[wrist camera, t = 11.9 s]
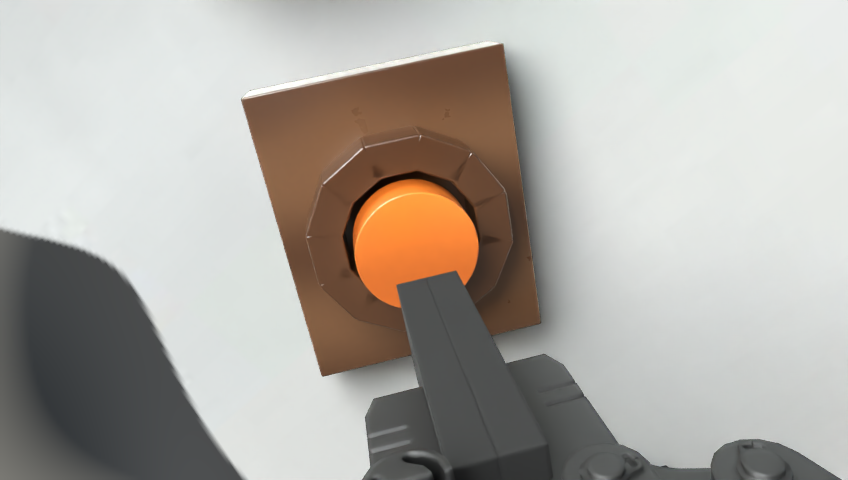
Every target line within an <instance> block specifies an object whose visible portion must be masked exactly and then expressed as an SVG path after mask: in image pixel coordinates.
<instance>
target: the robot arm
mask: <svg viewBox="0 0 848 480" xmlns="http://www.w3.org/2000/svg"><path fill="white" fill-rule="evenodd" d="M396 287H397V291H398V296H399V300H400V305H401V309H402V313H403V318H404V322H405V327H406V331H407V336H408V340H409V344H410V349H411V353H412V358H413V362H414V366H415V371H416V375H417V380H418V383H419V388H415V389H411V390H407V391H403V392H399V393H395V394H391V395H387V396H383V397H379V398H375V399H373V401H372V404H371V406H370V408H369V410H368V412H367V414H366V416H365V421H366V430H367V437H368V439H367V440H368V449H369V458H370V469H369V470H368V472H367V473H366V475H365V476H364V478H363V479H362V480H841V479H840V478H838V477H836V476H835V475H833V474H832V473H830V472H828V471H827V470H825V469H824V468H822V467H821V466H819V465H817V464H816V463H814V462H813V461H811V460H809V459H808V458H806V457H805V456H803V455H801V454H800V453H798V452H796V451H794V450H792V449H790V448H788V447H786V446H783V445H781V444H779V443H774V442H770V441H765V440H760V439H750V440H738V441H734V442H731V443H728V444H725V445H723V446H722V447H721V448H720V449H719V450H718V451H716V452H715V453H714V456H713V459H712V462H711V468H696V469H676V468H663V467H659V466H654V465H651V464H650V463H649V462H648V461H647V460H646V459H645V458H644V457H643V456H642V455H641V454H640V453H638V452H637V451H635V450H633V449H630V448H628V447H626V446H623V445H619V444H618V442H617V441H616V439H615V438H614V436H613V435H612V433H611V432H610V431H609V429H608V428H607V426H606V425H605V423H604V422H603V421H602V419H601V418H600V416H599V415H598V413H597V412H596V411H595V409H594V408H593V406H592V405H591V403H590V402H589V400H588V399H587V398H586V396H585V397H584V394H583V392H582V390H581V389H580V388H579V386H578V385H577V383H576V384H575V381H574V379H573V378H572V376H571V375H570V373H569V372H568V370H567V369H566V368H565V366H564V365H563V364H561V363H560V362H558V361H556V360H554V359H553V358H551V357H549V356H547V355H546V354H542V355H538V356H534V357H530V358H526V359H522V360H518V361H514V362H510V363H505V361H504V359H503V357H502V355H501V353H500V352H499V350H498V348H497V346H496V344H495V342H494V340H493V338H492V337H491V335H490V333H489V331H488V329H487V327H486V325H485V323H484V321H483V320H482V318H481V316H480V314H479V312H478V310H477V308H476V306H475V305H474V303H473V301H472V299H471V297H470V295H469V293H468V291H467V290H466V288H465V286H464V284H463V282H462V280H461V278H460V276H459V275H458V273H457V271H451V272H447V273H443V274H439V275H435V276H430V277H426V278H422V279H418V280H414V281H410V282H405V283H401V284H397V285H396Z"/></svg>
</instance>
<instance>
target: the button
mask: <svg viewBox="0 0 848 480" xmlns="http://www.w3.org/2000/svg"><path fill="white" fill-rule="evenodd" d="M353 246H354V255H355V262H356V268H357V271H358V274H359V276H360V278H361V280H362V282H363V283H364V285H365V286H366V287H367V289H368V290H369V291H370V292H371V293H372V294H373V295H375V296H376V297H377V298H378V299H380V300H382V301H383V302H385V303H387V304H389V305H392V306H395V307H398V308H401V305H400V300H399V296H398V291H397V287H396V285H397V284H401V283H405V282H410V281H414V280H418V279H422V278H426V277H430V276H435V275H439V274H443V273H447V272H451V271H457V273H458V275H459V276H460V278H461V280H462V282H463V284H464V286H465V285H466V283H467V282H468V281H469V279H470V277H471V276H472V274H473V272H474V269H475V267H476V264H477V260H478V254H479V242H478V236H477V232H476V229H475V226H474V224H473V222H472V220H471V219H470V217H469V216H468V214H467V213H466V211H465V210H464V209H463V207H462V206H461V204H460V203H459V202H458V200H457V199H456V198H455V197H454V196H453V195H452V194H451V193H450V192H449V191H448V190H446V189H445V188H443V187H441V186H440V185H438V184H435V183H433V182H430V181H426V180H419V179H406V180H400V181H396V182H393V183H390V184H388V185H386V186H384V187H382V188H380V189H379V190H377V191H376V192H375V193H373V194H372V195H371V196H370V197H369V198H368V199H367V200H366V202H365V203H364V204H363V206H362V207H361V209H360V211H359V212H358V215H357V217H356V220H355V223H354V227H353Z"/></svg>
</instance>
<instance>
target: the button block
mask: <svg viewBox="0 0 848 480" xmlns="http://www.w3.org/2000/svg"><path fill="white" fill-rule="evenodd" d="M241 101H242V105H243V108H244V112H245V115H246V119H247V122H248V125H249V129H250V132H251V136H252V139H253V143H254V146H255V149H256V153H257V156H258V160H259V163H260V167H261V170H262V173H263V177H264V180H265V184H266V187H267V190H268V194H269V197H270V201H271V204H272V208H273V211H274V214H275V218H276V221H277V225H278V228H279V232H280V235H281V238H282V242H283V245H284V249H285V252H286V256H287V259H288V262H289V266H290V269H291V273H292V276H293V279H294V283H295V286H296V290H297V293H298V297H299V300H300V303H301V307H302V310H303V314H304V317H305V321H306V324H307V327H308V331H309V334H310V338H311V341H312V345H313V348H314V351H315V355H316V358H317V362H318V365H319V368H320V372H321V375H322V376H327V375H332V374H336V373H340V372H344V371H348V370H352V369H356V368H360V367H364V366H369V365H373V364H377V363H381V362H385V361H389V360H393V359H397V358H401V357H405V356H410V355H412V353H411V349H410V344H409V340H408V336H407V331H406V327H405V322H404V318H403V313H402V309H401V308H398V307H395V306H392V305H389V304H387V303H385V302H383V301H382V300H380V299H378V298H377V297H376V296H375V295H373V294H372V293H371V292H370V291H369V290H368V289H367V287H366V286H365V285H364V283H363V282H362V280H361V278H360V276H359V274H358V271H357V268H356V262H355V255H354V246H353V227H354V223H355V220H356V217H357V215H358V212H359V211H360V209H361V207H362V206H363V204H364V203H365V202H366V200H367V199H368V198H369V197H370V196H371V195H372V194H373V193H375V192H376V191H377V190H379V189H380V188H382V187H384V186H386V185H388V184H390V183H393V182H396V181H400V180H406V179H419V180H426V181H430V182H433V183H435V184H438V185H440V186H441V187H443V188H445V189H446V190H448V191H449V192H450V193H451V194H452V195H453V196H454V197H455V198H456V199H457V200H458V202H459V203H460V204H461V206H462V207H463V209H464V210H465V211H466V213H467V214H468V216H469V217H470V219H471V220H472V222H473V224H474V226H475V229H476V232H477V236H478V242H479V254H478V260H477V264H476V267H475V269H474V272H473V274H472V276H471V277H470V279H469V281H468V282H467V283H466V285H465V288H466V290H467V291H468V293H469V295H470V297H471V299H472V301H473V303H474V305H475V306H476V308H477V310H478V312H479V314H480V316H481V318H482V320H483V321H484V323H485V325H486V327H487V329H488V331H489V333H490V335H491V336H492V335H496V334H500V333H504V332H508V331H512V330H516V329H520V328H524V327H529V326H533V325H537V324H540V323H541V318H540V311H539V304H538V296H537V289H536V281H535V274H534V267H533V259H532V252H531V244H530V237H529V230H528V222H527V215H526V207H525V200H524V193H523V185H522V178H521V170H520V163H519V156H518V148H517V141H516V133H515V126H514V119H513V111H512V104H511V96H510V89H509V82H508V74H507V67H506V59H505V52H504V45H503V44H502V43H496V42H490V41H485V42H480V43H475V44H470V45H465V46H461V47H456V48H451V49H446V50H441V51H437V52H432V53H427V54H422V55H418V56H413V57H408V58H403V59H398V60H394V61H389V62H384V63H379V64H374V65H370V66H365V67H360V68H355V69H351V70H346V71H341V72H336V73H331V74H327V75H322V76H317V77H312V78H307V79H303V80H298V81H293V82H288V83H283V84H279V85H274V86H269V87H264V88H260V89H255V90H250V91H249V92H248V93H246V94H245V95H244V96H243V97H242V98H241Z"/></svg>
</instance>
